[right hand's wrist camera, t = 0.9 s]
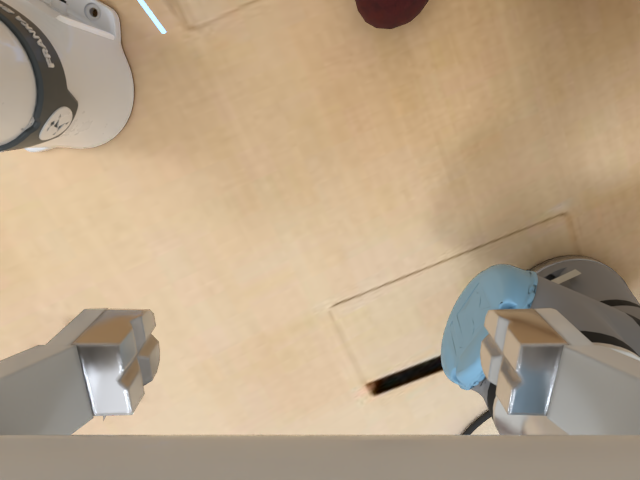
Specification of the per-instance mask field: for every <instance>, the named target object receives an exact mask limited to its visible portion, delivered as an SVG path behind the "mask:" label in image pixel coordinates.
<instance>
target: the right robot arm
mask: <svg viewBox="0 0 640 480" xmlns="http://www.w3.org/2000/svg"><path fill="white" fill-rule="evenodd" d="M138 1H139V3H140V4H141V5H142V7H143V8H144V10H145V11H146V12H147V14H148V15H149V16H150V18H151V19H152V20H153V22H154V23H155V25H156V26H157V27H158V29H159V30H160V31H161V33H163V34H165V33H166V31H165V29H164V28H163V27H162V25H161V24H160V23H159V21H158V20H157V19H156V17H155V16H154V14H153V13H152V12H151V10H150V9H149V8H148V6H147V5H146V3H145V2H144V1H143V0H138ZM95 9H96V10H97V12H98V15H97V16H96V17H94V15H93V11H94V10H95ZM133 101H134V84H133V78H132V73H131V70H130V67H129V64H128V61H127V59H126V57H125V54H124V52H123V49H122V45H121V27H120V20H119V17H118V15H117V13H116V12H115V11H114V10H113V9H112V8H111V7H109V6H107V5H105V4H104V3H102V2H100V1H99V0H0V152H4V151H9V150H16V149H22V148H24V149H25V150H27V151H29V152H43V151H47V150H50V149H53V148H56V147H65V148H75V149H86V148H93V147H97V146H100V145H103V144H105V143H107V142H108V141H110V140H111V139H113V138H114V137H115V136H116V135H117V134H119V132H120V131H121V130H122V129H123V127H124V126H125V124H126V123H127V121H128V119H129V116H130V114H131V111H132V107H133ZM155 327H156V323H155V317H154V313H153V312H152V311H151V310H150V309H108V308H95V309H84V310H83V311H82V312H81V313H80V314H79V315H78V316H77V317H75V318H74V319H73V320H72V321H71V322H70V323H69V324H68V325H67V326H66V327H65V328H63V329H62V330H61V331H60V332H59V333H58V334H57V335H56V336H55V337H54V338H53V339H51V340H50V341H49V342H48V343H47V344H46V345H38V346H35V347H33V348H30V349H28V350H25V351H23V352H20V353H18V354H16V355H13V356H11V357H8V358H6V359H3V360H1V361H0V480H640V361H639V360H636V359H634V358H632V357H629V356H627V355H624V354H622V353H619V352H617V351H615V350H612V349H610V348H607V347H605V346H602V345H594V344H593V343H592V342H591V341H590V340H589V339H588V338H586V337H585V336H584V335H583V334H582V333H581V332H580V331H579V330H578V329H577V328H576V327H574V326H573V325H572V324H571V323H570V322H569V321H568V320H567V319H566V318H565V317H564V316H563V315H561V314H560V313H559V312H558V311H557V310H555V309H552V308H541V309H496V310H488V312H487V314H486V316H485V322H484V327H485V328H486V330H487V331H488V333H489V334H488V335H487V336H486V337H485V338H484V339H483V340H482V341H481V349H480V359H481V366H482V369H483V372H484V374H485V376H486V378H487V380H488V381H489V382H491V383H493V384H494V385H496V386H497V387H496V393H495V394H496V396H497V397H498V399H499V401H500V402H501V404H502V406H503V407H504V409H505V411H506V413H507V414H508V415H533V416H547V418H548V419H549V420H550V421H552V422H553V423H554V424H556V425H557V426H558V427H560V428H561V429H562V430H564V431H565V432H566V433H568V434H569V435H71V434H73V433H74V432H75V431H76V430H78V429H79V428H80V427H82V426H83V425H84V424H86V423H87V422H88V421H90V420H91V419H92V418H93V416H107V415H132V414H133V413H134V411H135V409H136V408H137V406H138V404H139V402H140V401H141V399H142V397H143V396H144V394H145V393H144V387H143V386H144V385H146V384H147V383H149V382H151V381H152V380H153V378H154V376H155V374H156V373H157V369H158V365H159V361H160V348H159V341H158V340H157V339H156V338H155V337H154V336H153V335H152V334H151V333H152V331H153V330H154V328H155Z"/></svg>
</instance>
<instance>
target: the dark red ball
mask: <svg viewBox="0 0 640 480" xmlns="http://www.w3.org/2000/svg"><path fill="white" fill-rule="evenodd" d="M355 1H356V5H357V8H358V11H359V13H360V14H361V16H362V17H363V19H364V20H365V22H367V23H369V24H370V25H372V26H374V27H376V28H384V29H392V28H395V27H398V26H401V25H404V24H406V23H408V22H410V21H411V20H413V19H414V18H415V17H416V16H417V15H418V14H419V13H420V12H421V11H422V9H423V8H424V6H425V5H426V4H427V2H428V0H355Z"/></svg>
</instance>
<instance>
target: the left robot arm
mask: <svg viewBox="0 0 640 480" xmlns="http://www.w3.org/2000/svg"><path fill="white" fill-rule="evenodd" d="M541 308H552V309H555V310H557V311H558V312H559V313H560V314H561V315H563V316H564V317H565V318H566V319H567V320H568V321H569V322H570V323H571V324H572V325H573V326H574V327H576V328H577V329H578V330H579V331H580V332H581V333H582V334H583V335H584V336H585V337H586V338H588V339H589V340H590V341H591V342H592V343H593V344H594V345H602V346H605V347H607V348H610V349H612V350H615V351H617V352H619V353H622V354H624V355H627V356H629V357H632V358H634V359H636V360H639V361H640V304H639V303H638V301H637V300H636V298H635V297H634V295H633V294H632V292H631V291H630V290H629V288H628V286H627V285H626V283H625V281H624V280H623V279H622V278H621V277H620V276H619V275H618V274H617V273H616V272H615V271H614V270H613V269H611V268H610V267H608V266H606V265H605V264H603V263H601V262H600V261H597V260H595V259H592V258H589V257H585V256H575V255H571V256H562V257H557V258H553V259H550V260H547V261H545V262H543V263H541V264H539V265H537V266H535V267H534V268H532V269H531V270H526V271H525V270H523V269H520V268H517V267H514V266H511V265H507V264H498V265H494V266H491V267H489V268H488V269H486V270H484V271H482V272H480V273H479V274H478V275H477V276H476V277H475V278H473V279H472V281H471V282H470V283H469V284H468V285H467V286H466V288H465V289H464V290H463V292H462V293H461V295H460V296H459V298H458V300H457V302H456V303H455V305H454V307H453V309H452V311H451V314H450V316H449V319H448V321H447V325H446V328H445V331H444V335H443V339H442V346H441V362H442V367H443V370H444V372H445V374H446V376H447V377H448V378H449V379H450V380H451V381H452V382H454V383H456V384H458V385H459V386H460V388H462V389H465V390H470V389H472V390H474V391H476V392H478V393H479V394H480V395H481V396H482V397H483V398H484V400H485V402H486V405H487V407H488V409H489V411H488V412H486V413H485V414H484V415H482V416H481V417H480V418H478V419H477V420H476V421H475V422H474V423H473V424H472V425H471V426H470V427H469V428H468V429H467V430H466V431H465V432H464V433H463V435H470V434H471V433H472V432H473V431H474V430H475V429H476V428H477V427H478V426H480V425H481V424H482V423H483V422H485V421H486V420H487V419H489V418H490V417H491V416H492V419H493V421H494V424H495V426H496V428H497V430H498V432H499V434H500V435H569V434H568V433H566V432H565V431H564V430H562V429H561V428H560V427H558V426H557V425H556V424H554V423H553V422H552V421H550V420H549V419H548V418H547V416H533V415H508V414H507V413H506V411H505V409H504V407H503V406H502V404H501V402H500V401H499V399H498V397H497V396H496V394H495V393H496V387H497V386H496V385H494V384H493V383H491V382H489V381H488V380H487V378H486V376H485V374H484V372H483V369H482V366H481V359H480V349H481V341H482V340H483V339H484V338H485V337H486V336H487V335H488V334H489V333H488V331H487V330H486V328H485V327H484V322H485V316H486V314H487V312H488V310H496V309H541Z"/></svg>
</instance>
